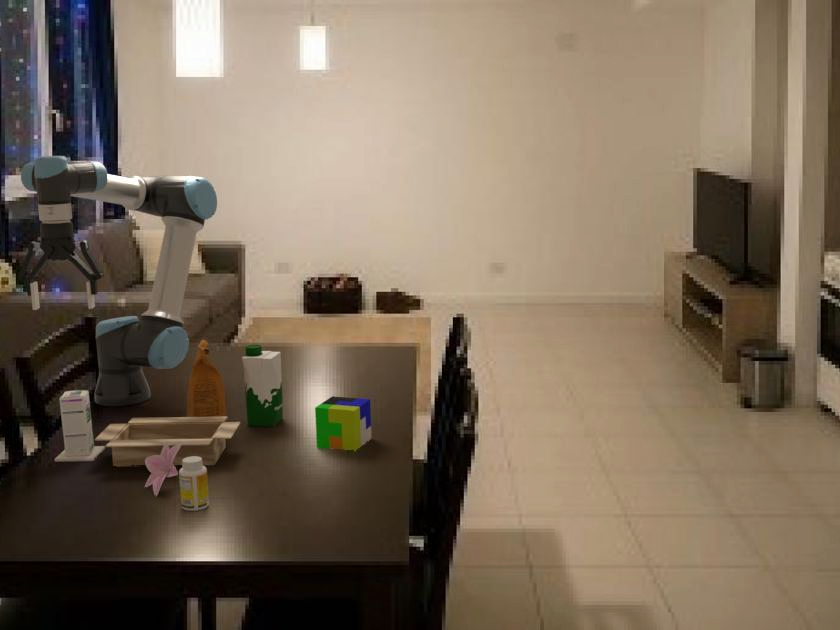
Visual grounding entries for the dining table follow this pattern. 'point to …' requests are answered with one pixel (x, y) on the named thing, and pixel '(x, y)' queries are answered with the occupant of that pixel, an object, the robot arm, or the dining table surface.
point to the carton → (168, 438)
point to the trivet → (91, 457)
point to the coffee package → (205, 387)
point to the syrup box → (77, 423)
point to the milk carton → (263, 386)
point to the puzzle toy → (343, 423)
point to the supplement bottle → (193, 484)
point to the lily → (161, 466)
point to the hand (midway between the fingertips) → (64, 308)
